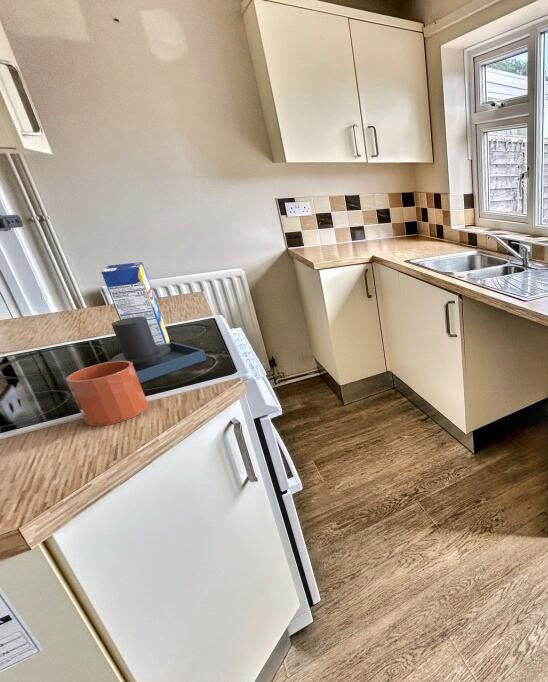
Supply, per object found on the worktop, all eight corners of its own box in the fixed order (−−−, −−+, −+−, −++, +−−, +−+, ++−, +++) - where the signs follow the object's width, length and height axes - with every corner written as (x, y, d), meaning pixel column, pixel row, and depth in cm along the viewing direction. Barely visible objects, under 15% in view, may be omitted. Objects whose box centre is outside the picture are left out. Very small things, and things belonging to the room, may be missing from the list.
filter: (130, 381, 92) (110, 331, 88) (108, 372, 97) (88, 325, 93) (183, 362, 101) (168, 316, 97) (160, 355, 106) (144, 311, 101)
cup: (99, 430, 75) (79, 385, 71) (77, 419, 78) (57, 376, 75) (158, 407, 82) (142, 365, 79) (134, 398, 86) (118, 357, 83)
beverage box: (134, 358, 106) (101, 272, 98) (138, 345, 115) (107, 265, 107) (168, 351, 110) (138, 267, 102) (169, 340, 118) (142, 261, 110)
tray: (110, 393, 88) (106, 382, 87) (80, 381, 94) (76, 370, 93) (207, 359, 104) (204, 349, 103) (175, 351, 110) (172, 341, 109)
